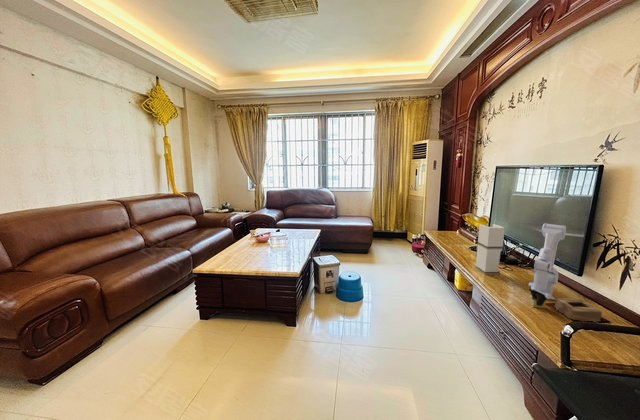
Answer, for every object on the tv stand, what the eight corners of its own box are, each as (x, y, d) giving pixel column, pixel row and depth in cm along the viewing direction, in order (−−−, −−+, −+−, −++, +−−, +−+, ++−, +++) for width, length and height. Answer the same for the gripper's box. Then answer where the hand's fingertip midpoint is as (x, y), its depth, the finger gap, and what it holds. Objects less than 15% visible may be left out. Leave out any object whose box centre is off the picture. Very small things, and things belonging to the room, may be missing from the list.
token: (529, 304, 143) (530, 297, 142) (541, 304, 142) (542, 298, 142) (533, 307, 140) (534, 300, 140) (545, 307, 139) (546, 301, 139)
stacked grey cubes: (499, 274, 182) (504, 227, 176) (484, 274, 182) (489, 227, 176) (489, 268, 193) (494, 223, 187) (475, 268, 193) (479, 224, 187)
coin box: (554, 307, 139) (556, 297, 138) (579, 309, 137) (580, 299, 136) (572, 320, 127) (574, 310, 126) (599, 322, 126) (601, 311, 125)
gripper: (524, 275, 146) (521, 296, 149) (542, 286, 132) (538, 310, 135) (537, 275, 145) (534, 297, 148) (557, 287, 131) (553, 311, 133)
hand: (537, 303), depth 141 cm, fingers closed on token, 3 cm apart
